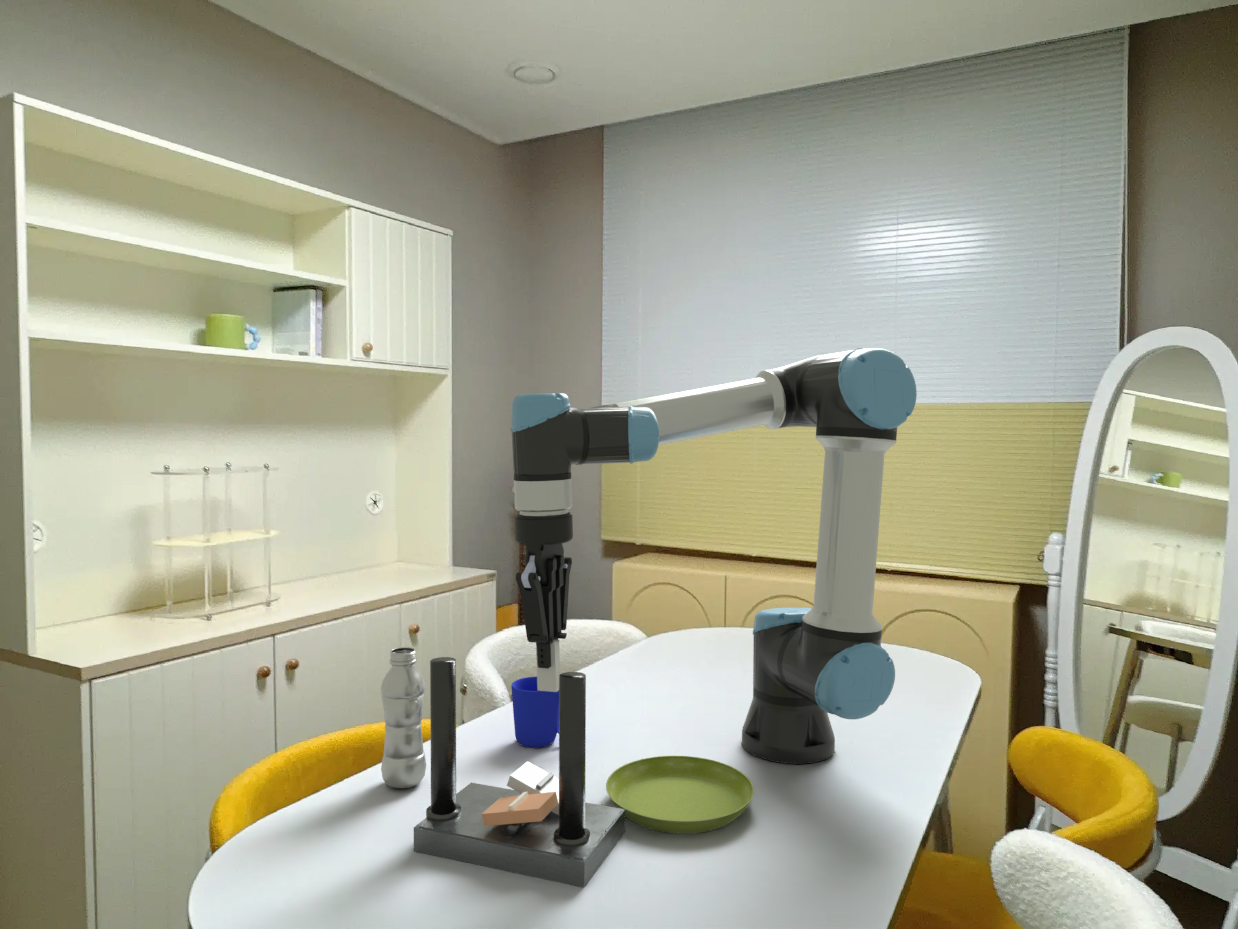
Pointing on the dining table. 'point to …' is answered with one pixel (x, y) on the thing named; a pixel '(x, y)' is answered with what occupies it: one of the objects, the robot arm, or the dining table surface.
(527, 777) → the paddle
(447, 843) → the twin post stand
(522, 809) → the paddle
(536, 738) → the mug
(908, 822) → the dining table surface
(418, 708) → the plastic bottle
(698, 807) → the saucer
